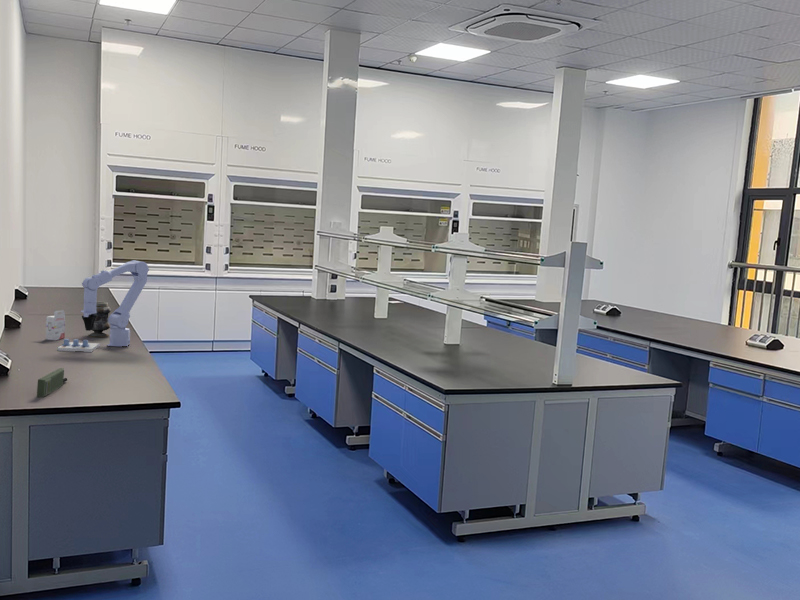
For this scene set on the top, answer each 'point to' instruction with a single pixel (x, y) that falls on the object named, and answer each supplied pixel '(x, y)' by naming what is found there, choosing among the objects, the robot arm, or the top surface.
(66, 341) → the switch tab
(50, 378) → the handheld radio
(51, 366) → the top surface
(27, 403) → the top surface
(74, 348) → the switch board
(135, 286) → the robot arm
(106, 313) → the dark grey stone urn
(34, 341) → the top surface
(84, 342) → the switch tab
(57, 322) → the ink cartridge box
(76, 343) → the switch tab
